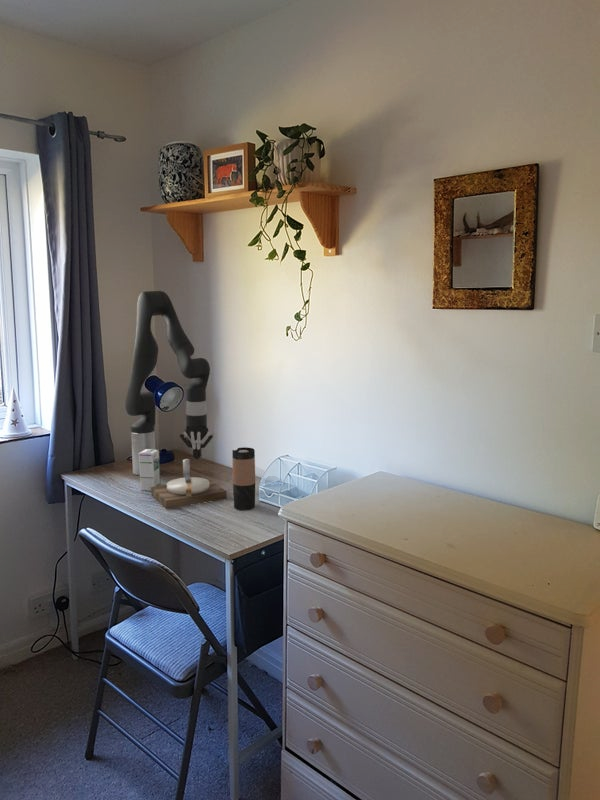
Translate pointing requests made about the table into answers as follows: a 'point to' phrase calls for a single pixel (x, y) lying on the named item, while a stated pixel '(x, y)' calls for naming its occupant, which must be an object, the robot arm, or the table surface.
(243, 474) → the travel mug
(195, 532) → the table surface
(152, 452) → the syrup box
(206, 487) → the dial
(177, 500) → the dial stand
